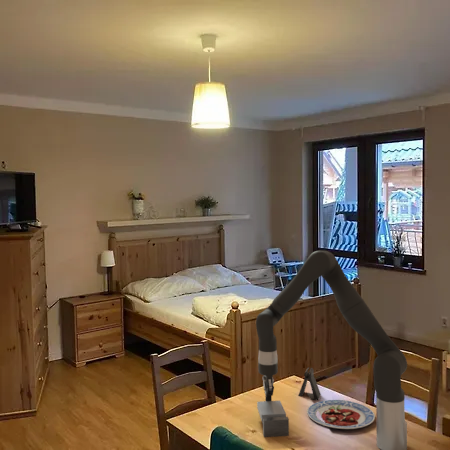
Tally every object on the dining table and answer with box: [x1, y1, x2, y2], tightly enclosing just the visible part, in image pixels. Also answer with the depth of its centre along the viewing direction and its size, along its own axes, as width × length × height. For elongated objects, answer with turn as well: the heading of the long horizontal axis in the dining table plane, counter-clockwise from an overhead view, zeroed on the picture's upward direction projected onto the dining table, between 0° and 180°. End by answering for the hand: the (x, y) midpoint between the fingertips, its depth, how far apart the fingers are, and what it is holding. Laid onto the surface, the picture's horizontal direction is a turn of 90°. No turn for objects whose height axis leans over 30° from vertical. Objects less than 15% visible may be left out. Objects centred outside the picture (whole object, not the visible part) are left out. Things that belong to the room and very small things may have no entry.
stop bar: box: [262, 416, 290, 438], centre depth 180 cm, size 9×2×7 cm, turn 94°
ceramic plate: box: [306, 399, 376, 430], centre depth 195 cm, size 26×26×3 cm
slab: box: [256, 400, 287, 423], centre depth 188 cm, size 9×12×2 cm
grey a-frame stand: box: [298, 367, 322, 401], centre depth 216 cm, size 9×6×12 cm, turn 70°
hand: (268, 404), depth 196 cm, fingers closed
